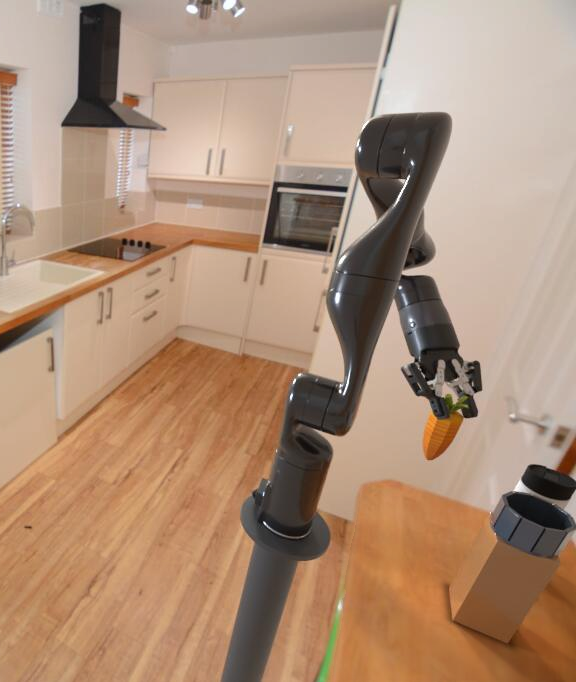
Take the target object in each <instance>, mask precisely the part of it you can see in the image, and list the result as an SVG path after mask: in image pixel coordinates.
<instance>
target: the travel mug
mask: <svg viewBox="0 0 576 682" xmlns="http://www.w3.org/2000/svg"><path fill="white" fill-rule="evenodd" d="M513 491H517V492H524V493H530V494H531V495H533V494H534V495H536V496H538V497H541V498H543V499H546V500H548V501H550V502H553V504H556V505H558V506H559V507H560V508H562V509H563V510H564V511H565V509H566V507H567V506H568V504H569V502H570V501H571V499H572V497H573V495H574V494H575V492H576V479H574V478H573V477H571V476H570V475H568V474H566V473H564V472H559V471H557V470H555V469H552V468H549V467H547V466H545V465H541V464H537V463H531V464H528V465H527V466H526V469H525V470H524V472H523V474H522V476H520V478H519V480H518V482H517V484H516V486H515V487H514V489H513Z"/></svg>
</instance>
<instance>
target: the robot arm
mask: <svg viewBox="0 0 576 682" xmlns="http://www.w3.org/2000/svg"><path fill="white" fill-rule="evenodd" d="M452 131H453V117H452V115H451V114H449V113H448V112H446V111H424V112H423V111H422V112H420V111H418V112H398V113H385V114H378V115H375V116H373V117H371V118H369V119H368V120H367V121H366V123H365V124H364V125H363V126H362V128H361V129H360V132H359V134H358V137H357V140H356V143H355V146H354V147H355V148H354V157H353V159H354V166H355V172H356V175H357V176H358V179H359V182H360V184H361V185H362V187H363V190H364V192H365V195H366V196H367V199H368V201H369V202H370V204H371V207H372V208H373V211H374V215H375V217H376V222H374V223H373V224H372V225H371V226H370V227H369V228H367V230H366V231H365V232H363V233H362V234H361V235H360V236H358V238H356V239H355V240H354V241H353V242H352V243H351V244H350V245H349V246H348V247H347V248H345V250H343V252H342V253H341V254H340V255H339V256H338V258H337V260H336V261H335V264H334V267H333V271H332V274H331V277H330V281H329V284H328V287H327V291H326V295H325V306H326V310H327V313H328V314H327V315H328V316H329V320H330V322H331V324H332V327H333V329H334V332H335V334H336V337H337V341H338V343H339V346H340V350H341V354H342V359H343V371H344V372H343V373H344V374H343V375H344V376H343V381H341V380H336V379H334V378H329V377H326V376H323V375H319V374H316V373H312V372H308V371H300V372H298V373H297V374H294V377H293V378H292V379H291V381H290V383H289V386H288V388H287V392H286V394H285V395H286V396H285V402H284V406H283V413H282V418H281V425H280V429H279V433H278V437H277V442H276V446H275V450H274V454H273V459H272V463H271V468H270V471H269V476H268V479H267V478H264V477H261V479H260V482H259V484H258V487H257V488H255V489H254V490H252V491H251V495H252V496H253V498H254V499H255V501H254V503H255V504H257V505H260V506H261V508H260V512H259V516H258V520H257V522H259V523H261V524H263V525H264V526H265V527H266V528H267V529H268V530H269V531H270V532H271V533H273V534H275V535H276V536H278V537H281V538H284V539H287V540H302V539H304V538H306V537H307V536H308V535H309V533H310V530H311V526H312V522H313V519H314V516H315V513H316V511H317V509H318V505H319V502H320V499H321V496H322V493H323V490H324V487H325V484H326V481H327V477H328V474H329V471H330V467H331V464H332V461H333V458H334V447H333V445H332V444H331V442H330V441H329V440H328V439H327V437H325V436H324V435H322V434H321V433H320V432H322V433H325V434H328V435H331V436H335V437H338V438H342V437H346V435H348V434H349V432H350V431H351V429H352V428H353V426H354V424H355V422H356V419H357V416H358V414H359V410H360V406H361V402H362V399H363V394H364V390H365V387H366V383H367V381H368V380H367V378H368V375H369V372H370V368H371V364H372V360H373V358H374V357H373V356H374V353H375V351H376V347H377V345H378V342H379V339H380V336H381V333H382V330H383V328H384V326H385V323H386V320H387V317H388V315H389V313H390V309H391V307H392V304H393V302H394V304H395V307H396V309H397V312H398V317H399V323H400V327H401V331H402V334H403V337H404V340H405V344H406V346H407V349H408V352H409V355H410V356H411V357H412V358H413V362H411V363H408V364H407V363H406V364H404V365H403V366H401V367H400V372H401V373H402V375H403V376H404V378H405V380H406V381H407V383H408V385H409V387H410V388H411V390H412V392H413V393H414V395H415V396H416V397H423V398H425V399H426V400H428V402H429V405H430V408H431V411H433V414H434V416H435V417H436V418H437V419H438V420H443V419H448V418H450V413H449V410H448V407H447V404H446V401H445V396H443V385H444V384H445V385H446V386H447V387H448V388H450V389H451V390H452V392H453V393H454V394H455V395H456V398H457V402H458V401H459V399H461V398H462V397H463V396H467V397H468V398H467V399H466V400H465V401H464V402H463V403H462V404H465V405H468V408H462V409H460V411H461V415H462V416H463V417H464V419H474V418H477V417H478V416H479V409H478V407H477V404H476V401H475V399H474V396H475V394H477V393H480V392H482V391H483V381H482V380H483V379H482V369H481V368H482V367H481V363H480V361H479V360H475V359H474V360H473V361H468V360H464V359H463V357H462V356H461V355H460V353H459V349H460V347H461V344H460V341H459V337H458V335H457V333H456V330H455V326H454V324H453V322H452V321H453V320H452V318H451V316H450V314H449V311H448V309H447V307H446V306H445V304H444V301H443V299H442V296H441V293H440V290H439V288H438V284H437V282H436V280H435V278H434V277H433V276H431V275H427V274H415V275H411V274H410V275H407V274H403V272H404V271H409V270H413V269H417V268H421V267H424V266H426V265H428V264H430V263H431V262H432V261H433V260H434V258H435V257H436V253H437V247H436V244H435V242H434V240H433V239H432V237H431V235H430V234H429V233H428V232H427V231H426V228H425V208H424V207H425V205H426V202H427V200H428V198H429V196H430V193H431V191H432V187H433V185H434V183H435V180H436V178H437V176H438V173H439V171H440V168H441V166H442V163H443V160H444V159H445V155H446V152H447V150H448V147H449V144H450V141H451V137H452V133H453V132H452ZM402 180H405V181H404V182H403V181H402ZM457 379H458V380H457ZM460 405H461V404H460Z"/></svg>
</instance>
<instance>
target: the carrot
mask: <svg viewBox="0 0 576 682" xmlns="http://www.w3.org/2000/svg"><path fill="white" fill-rule="evenodd" d="M444 398H445V401H446V404H447V407H448V410H449V413H450V418H448V419H443V420H438V419H437V418H436V417H435V416H434V414H433V411H432V410H431V411H430V413H429V415H428V418H427V421H426V423H425V427H424V430H423V436H422V452H423V455H424V457H425V459H426V460H427V461H433V460H436V459H437V458H440V456H442V455H443V454H444V453H445V452H446V451H447V449H448V448H449V447H450V445H451V444H452V443H453V441H454V439H455V438H456V436H457V435H458V432H459V430H460V428H461V426H462V424H463V422H464V419H465V418H464V417H463V414H462V413H460V412H459V410H461V409H462V408H468V405H465V404H462V403H463V402H464V401H465V400H466V399H467V398H468V397H467V396H463V397H462V398H461V399H459V401H458V400H457V402H455V403H454V400H453V395H452V394H451V393H447V394H445V396H444ZM460 404H461V405H460Z"/></svg>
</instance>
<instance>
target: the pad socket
mask: <svg viewBox="0 0 576 682" xmlns="http://www.w3.org/2000/svg"><path fill="white" fill-rule="evenodd" d="M575 533H576V520H575V519H574V517H573V516H572V515H571V514H570V513H568V511H566V510H565V509H564V510H563V509H562V508H560V507H559V506H558V505H556V504H553V502H550V501H548V500H546V499H543V498H541V497H538V496H536V495H534V494H533V495H531V494H530V493H524V492H517V491H514V490H510V491H507V492H506V493H503V494H502V495H501V496H500V499H499V500H498V501H497V504H496V506H495V508H494V510H493V511H489V512H488V514H487V516H486V518H485V520H484V521H483V524H482V525H481V527H480V529H479V531H478V533H477V534H476V536H475V538H474V540H473V542H472V544H471V546H470V548H469V550H468V552H467V553H466V555H465V557H464V559H463V561H462V563H461V565H460V567H459V568H458V570H457V572H456V574H455V576H454V578H453V579H452V581H451V583H450V585H449V587H448V593H449V602H450V610H451V619H452V621H453V622H455V623H458V624H461V625H462V626H465V627H467V628H470V629H472V630H474V631H476V632H478V633H481V634H484V635H486V636H488V637H491V638H494V639H495V640H497V641H500V642H502V643H504V644H509V642H510V641H511V639H512V638H513V636H514V635H515V634H516V632H517V630H518V629H519V627H520V626H521V625H522V623H523V621H524V620H525V619H526V617H527V616H528V615H529V613H530V611H531V609H532V608H533V607H534V605H535V603H536V602H537V601H538V599H539V597H540V596H541V594H542V593H543V592H544V590H545V589H546V587H547V586H548V584H549V582H550V581H551V580H552V578H553V577H554V575H555V574H556V572H557V571H558V569H559V568H560V566H561V565H562V561H561V559H560V557H559V555H560V553H562V552H563V551H564V550H565V548H566V547H567V545H568V544H569V542H570V540H571V539H572V537H573V536H574V534H575Z"/></svg>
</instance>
